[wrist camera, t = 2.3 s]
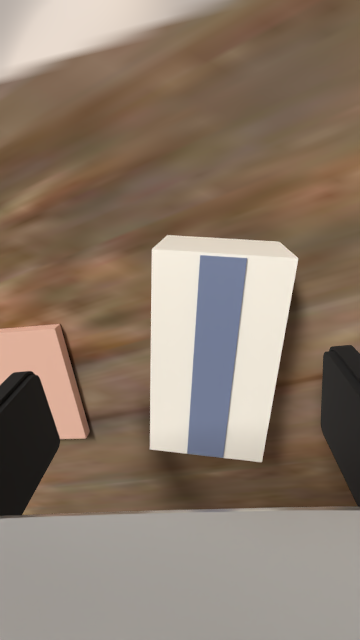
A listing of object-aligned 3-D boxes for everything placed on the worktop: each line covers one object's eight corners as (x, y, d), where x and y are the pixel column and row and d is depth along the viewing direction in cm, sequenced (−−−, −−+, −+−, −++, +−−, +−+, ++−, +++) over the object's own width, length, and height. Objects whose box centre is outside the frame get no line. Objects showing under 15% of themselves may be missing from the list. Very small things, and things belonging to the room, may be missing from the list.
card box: (278, 241, 15) (298, 258, 11) (253, 406, 18) (261, 464, 14) (168, 234, 15) (151, 249, 11) (163, 397, 19) (149, 451, 15)
